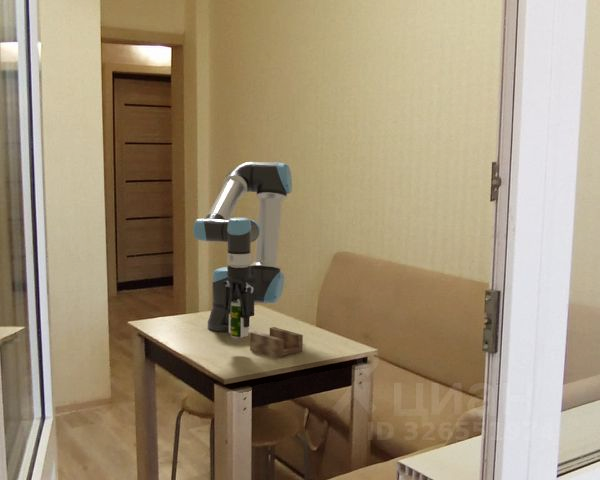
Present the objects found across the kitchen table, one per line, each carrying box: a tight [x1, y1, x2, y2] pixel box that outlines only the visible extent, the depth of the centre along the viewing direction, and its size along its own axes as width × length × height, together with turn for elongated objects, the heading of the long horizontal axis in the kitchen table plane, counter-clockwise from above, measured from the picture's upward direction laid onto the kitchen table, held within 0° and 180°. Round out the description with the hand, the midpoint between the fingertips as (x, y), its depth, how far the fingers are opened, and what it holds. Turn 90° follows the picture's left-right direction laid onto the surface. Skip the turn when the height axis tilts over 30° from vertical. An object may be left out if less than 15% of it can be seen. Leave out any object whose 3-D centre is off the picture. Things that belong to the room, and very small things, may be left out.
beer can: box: [229, 300, 247, 340], centre depth 227 cm, size 5×5×12 cm
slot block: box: [249, 326, 304, 360], centre depth 232 cm, size 14×11×6 cm
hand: (238, 334), depth 228 cm, fingers closed on beer can, 5 cm apart
